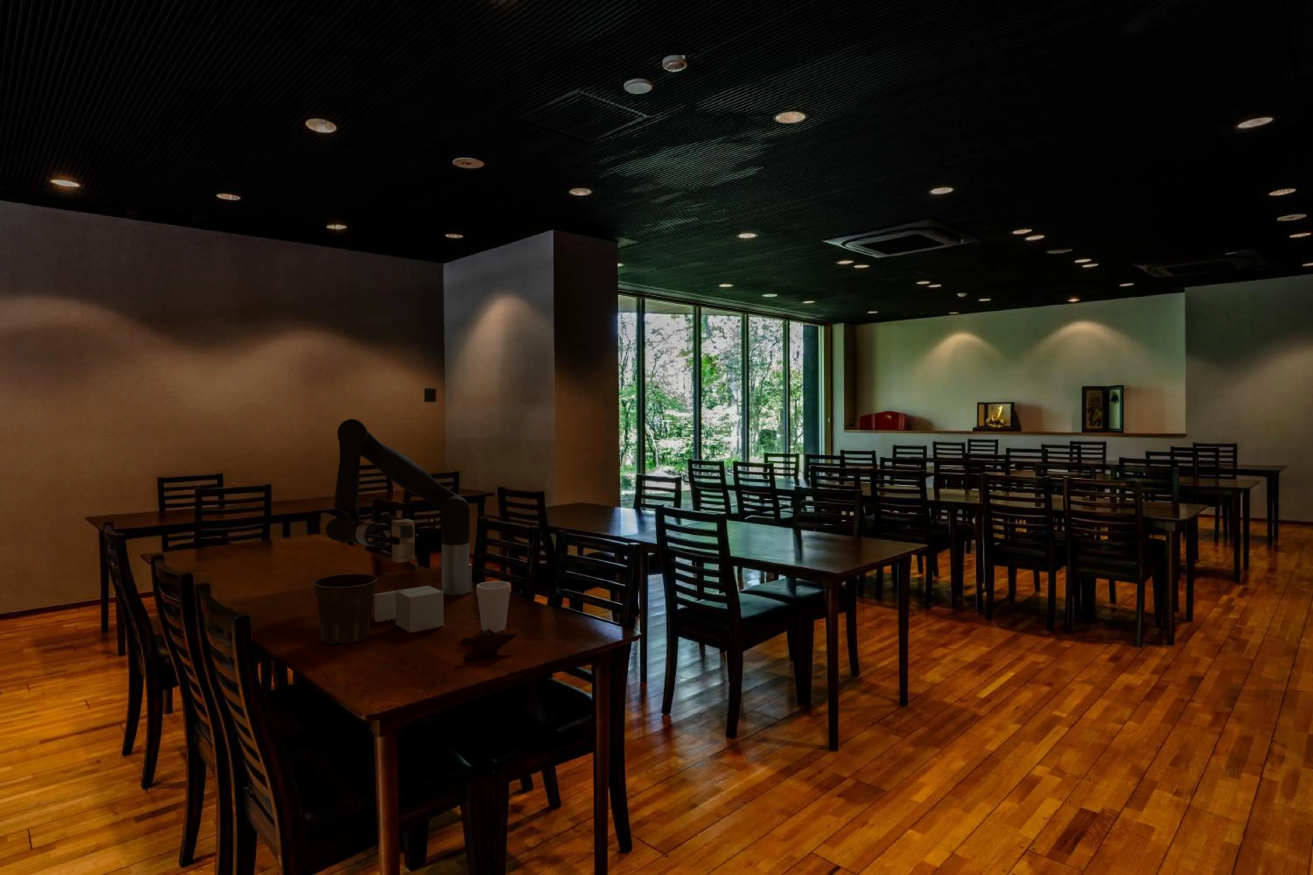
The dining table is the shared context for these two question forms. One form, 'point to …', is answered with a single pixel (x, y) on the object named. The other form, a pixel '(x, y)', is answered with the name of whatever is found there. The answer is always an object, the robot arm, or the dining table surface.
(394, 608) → the screen
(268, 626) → the dining table surface
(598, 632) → the dining table surface
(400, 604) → the stand
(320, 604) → the plant pot
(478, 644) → the icecream
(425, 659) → the dining table surface
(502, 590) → the foam cup
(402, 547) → the birch block
